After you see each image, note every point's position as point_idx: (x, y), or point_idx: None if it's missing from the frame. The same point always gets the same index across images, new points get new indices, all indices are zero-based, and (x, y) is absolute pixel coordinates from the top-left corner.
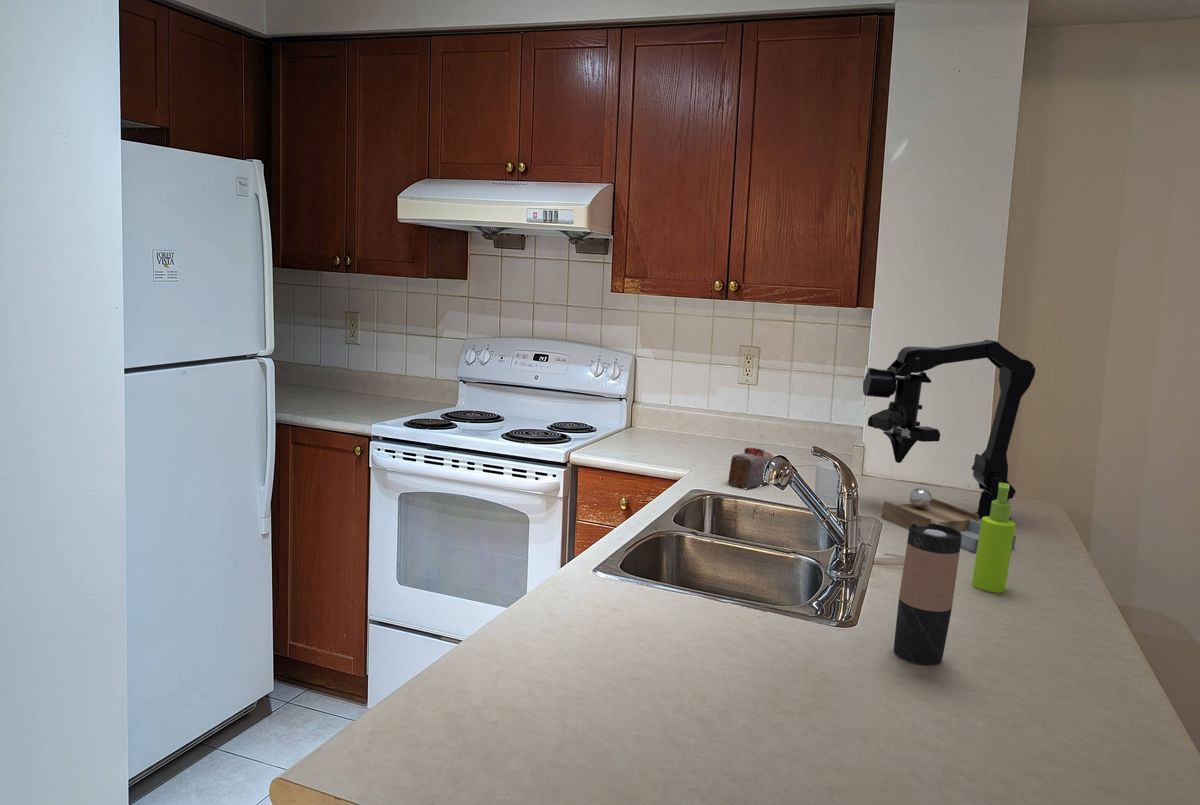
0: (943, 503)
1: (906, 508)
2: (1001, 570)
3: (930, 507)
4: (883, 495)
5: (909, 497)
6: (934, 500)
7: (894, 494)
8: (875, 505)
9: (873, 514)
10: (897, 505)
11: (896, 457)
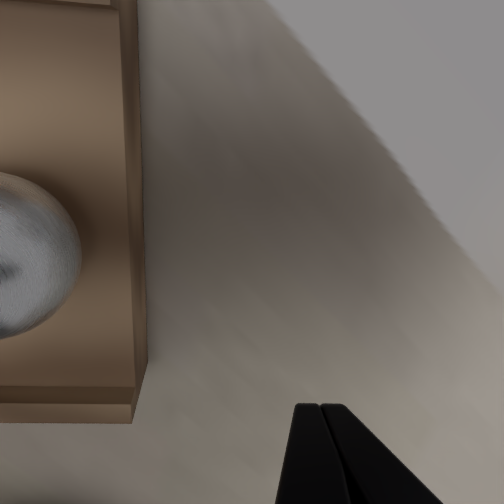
0: (23, 402)
1: (22, 119)
2: None
3: None
4: (469, 373)
5: (41, 193)
6: (97, 402)
7: (455, 431)
8: (362, 190)
9: (219, 4)
10: (106, 115)
11: (341, 448)
